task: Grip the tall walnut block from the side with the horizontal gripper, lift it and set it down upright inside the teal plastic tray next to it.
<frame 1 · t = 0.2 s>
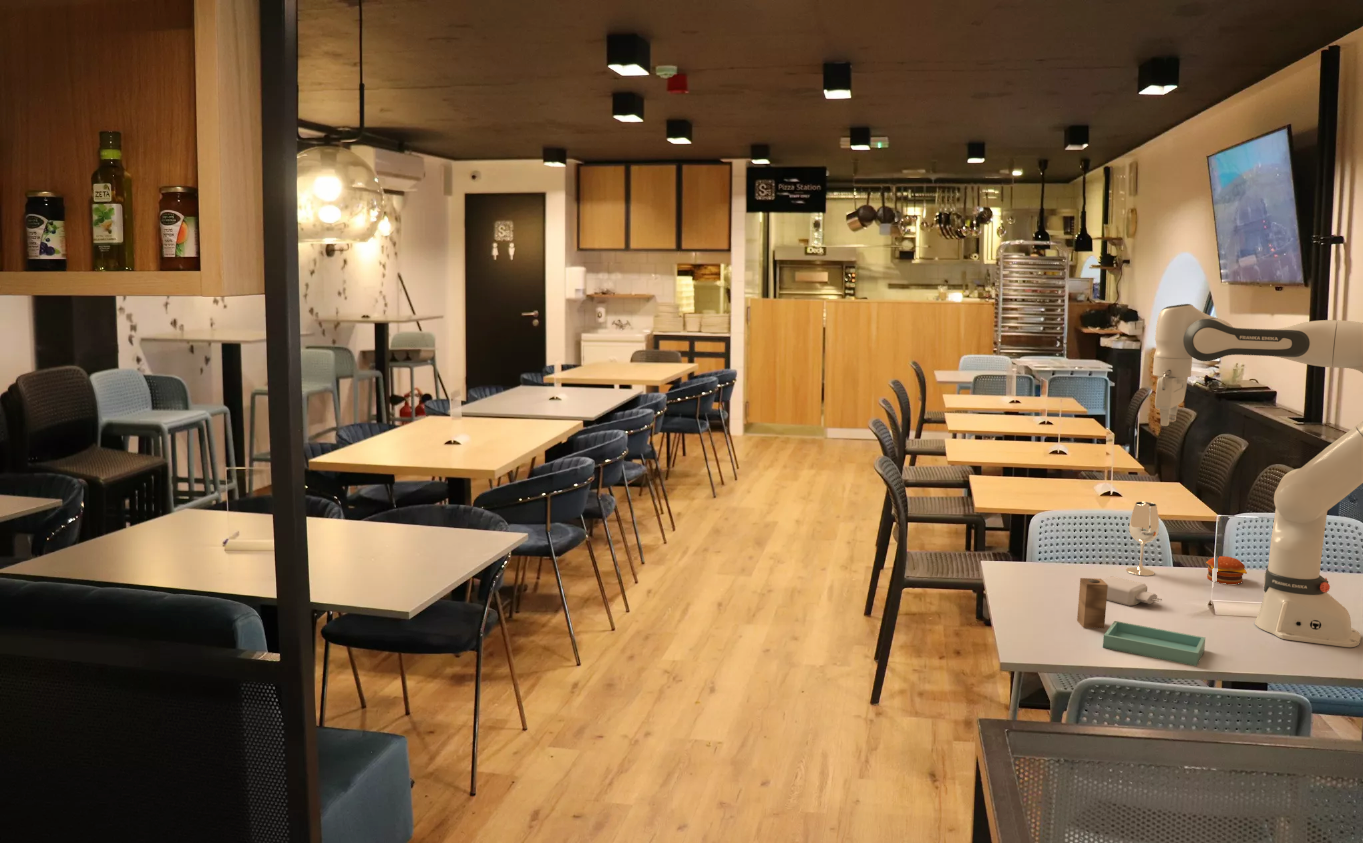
hand: (1168, 423, 282), 48 cm above the table, tool pointing down, fingers open, 8 cm apart
charger: (1131, 603, 293), on the table
wineglass: (1140, 572, 320), on the table
tray: (1153, 648, 259), on the table
block: (1090, 624, 275), on the table
hamburger: (1224, 581, 314), on the table
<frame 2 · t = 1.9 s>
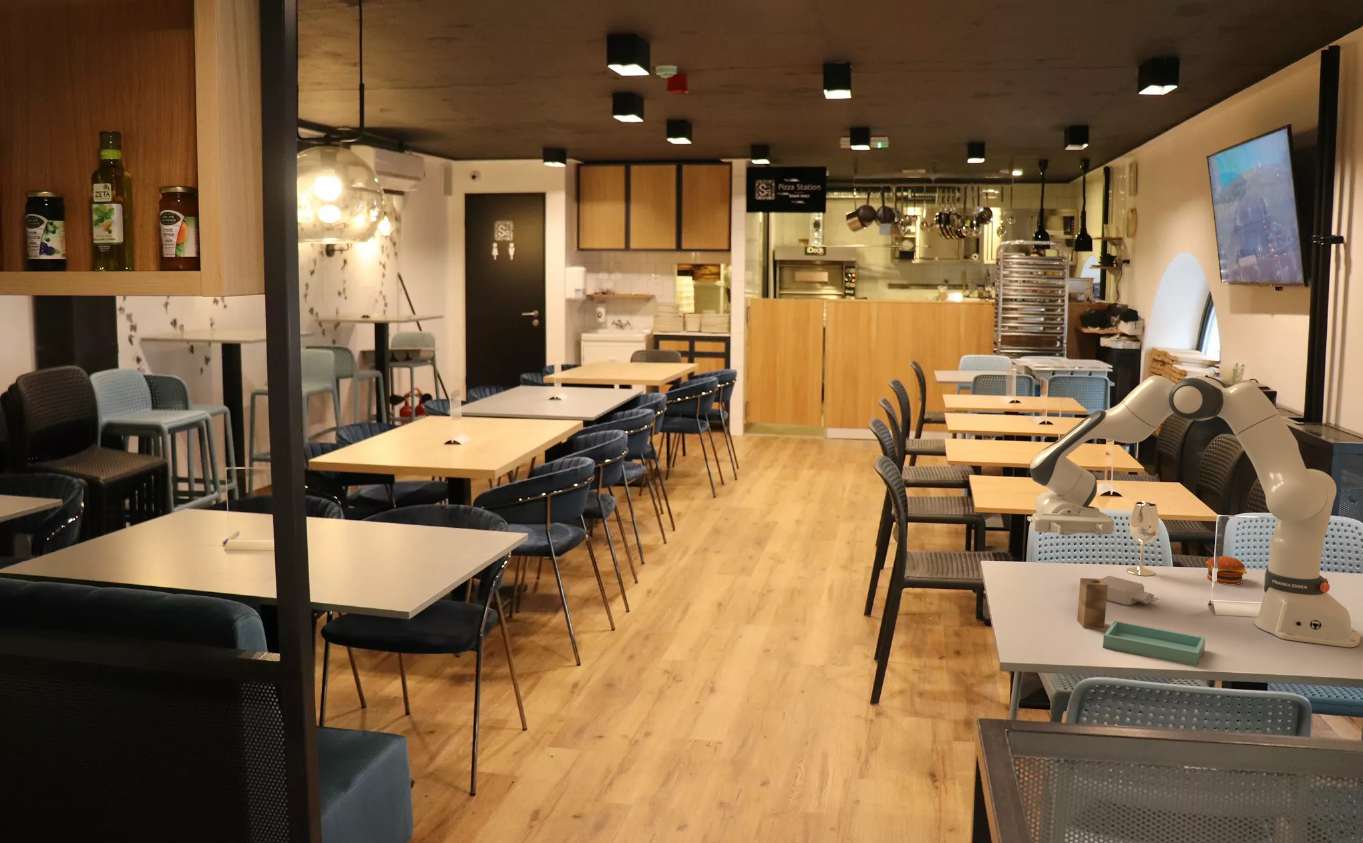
hand: (1081, 531, 284), 20 cm above the table, tool horizontal, fingers open, 8 cm apart
nothing on the table moved.
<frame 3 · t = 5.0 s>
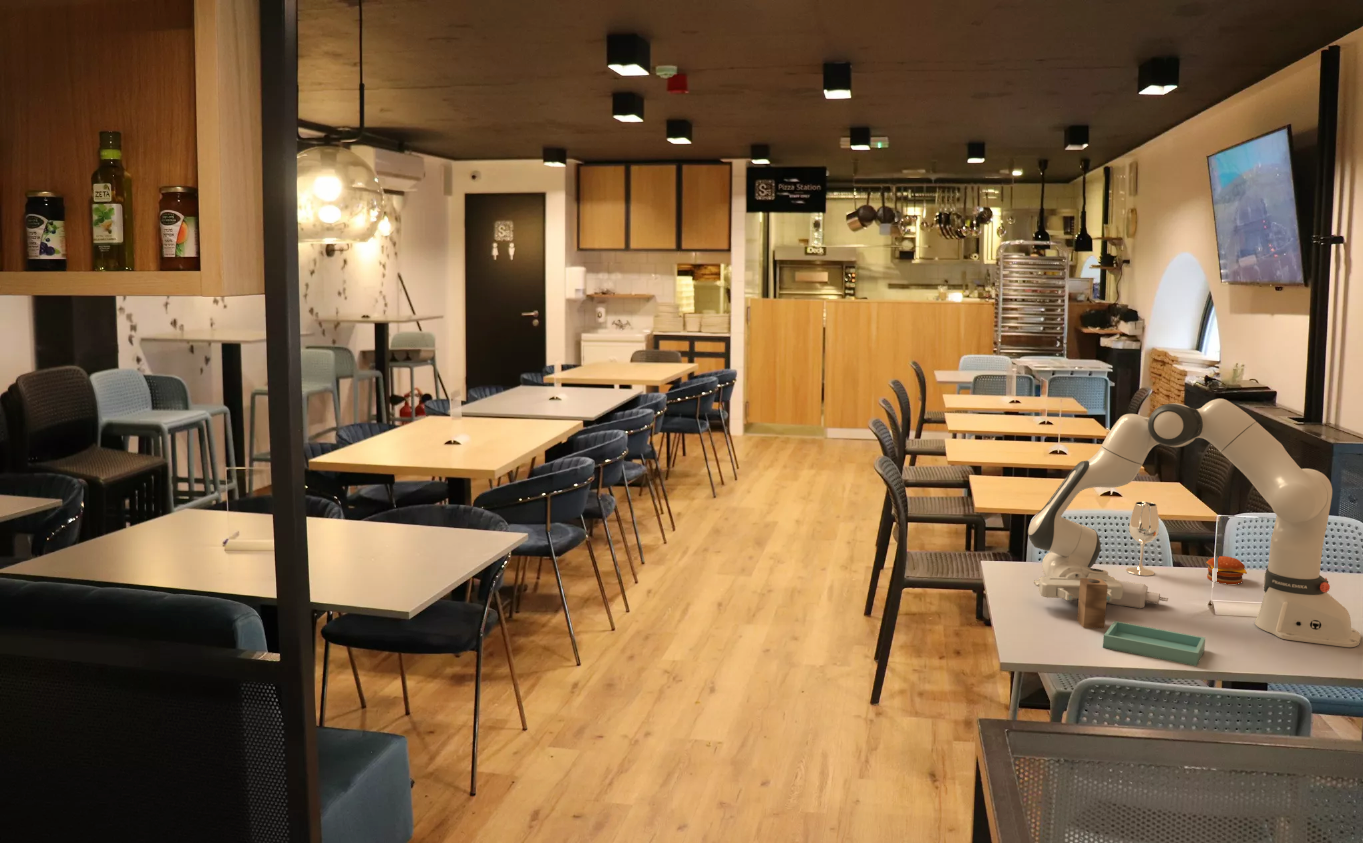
hand: (1089, 598, 276), 6 cm above the table, tool horizontal, fingers open, 8 cm apart
charger: (1135, 604, 292), on the table
everything else where it was.
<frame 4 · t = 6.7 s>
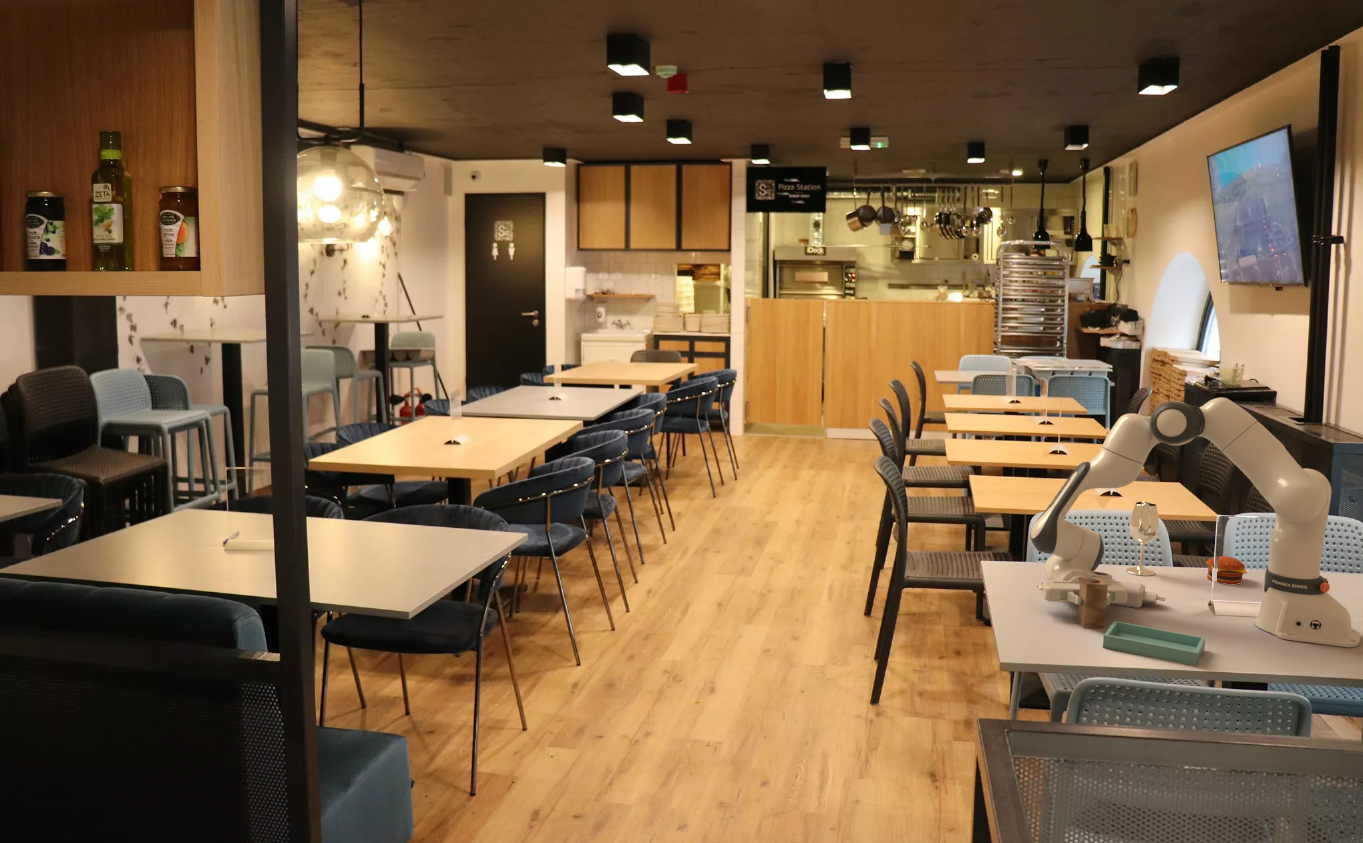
hand: (1093, 602, 273), 6 cm above the table, tool horizontal, fingers closed on block, 5 cm apart
block: (1090, 624, 275), on the table, touching gripper
everything else where it was.
when the fingers open (8 cm above the table, at t = 12.1 s): block drops 2 cm, resting on tray.
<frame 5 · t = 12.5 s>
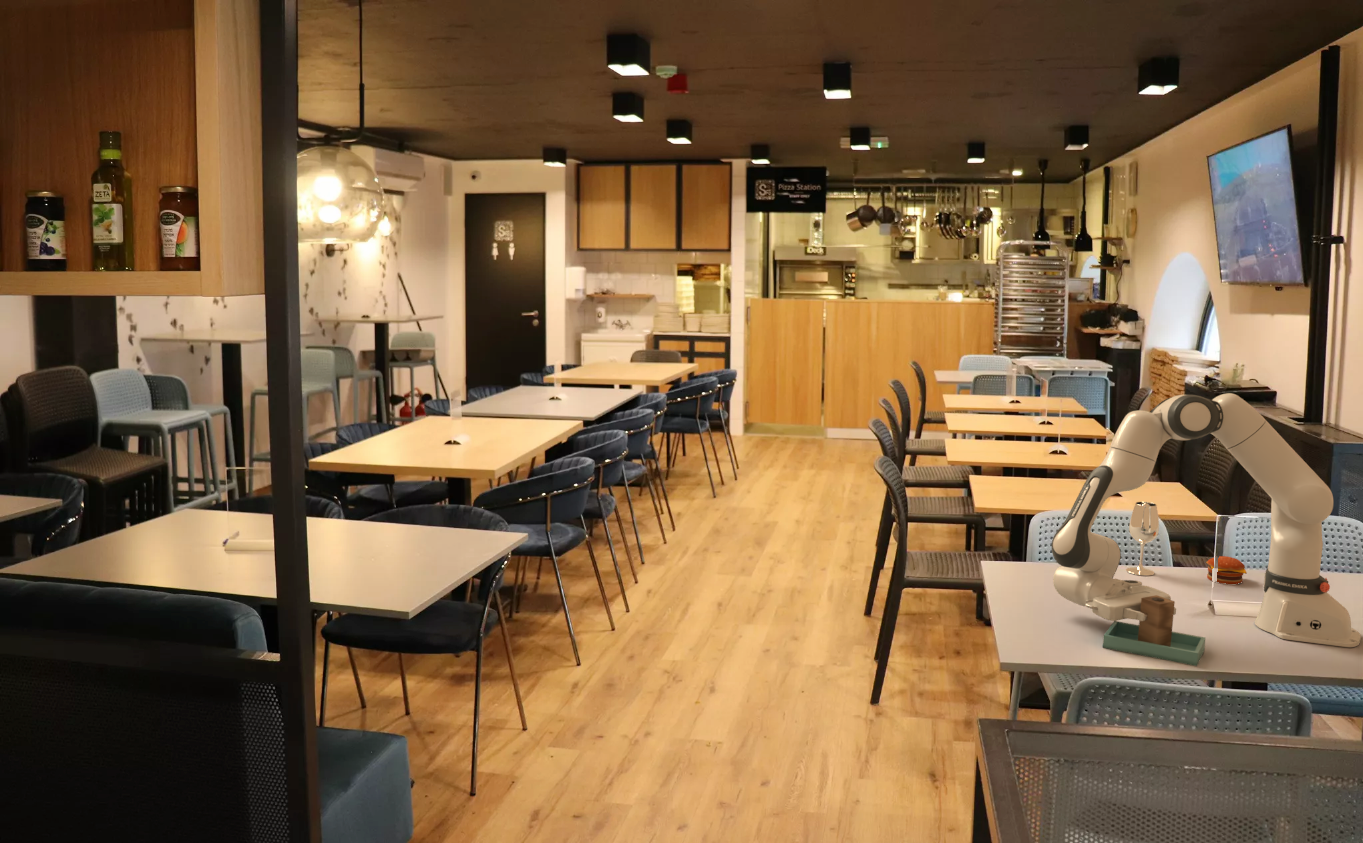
hand: (1159, 614, 257), 8 cm above the table, tool horizontal, fingers open, 8 cm apart
charger: (1124, 603, 293), on the table
block: (1153, 645, 259), point 1 cm above the table, touching tray
everything else where it was.
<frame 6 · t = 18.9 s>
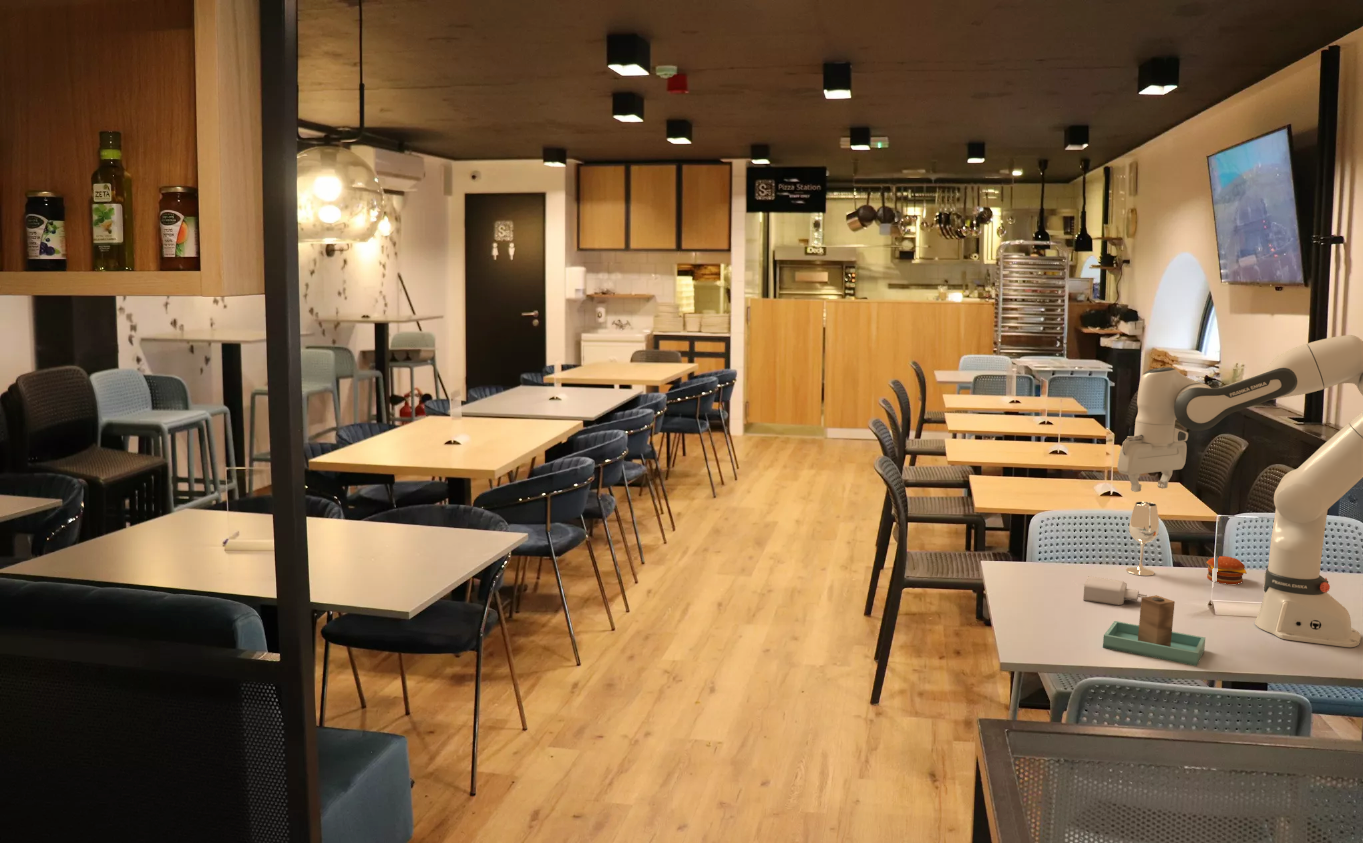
hand: (1149, 489, 274), 33 cm above the table, tool pointing down, fingers open, 8 cm apart
charger: (1115, 601, 294), on the table
everything else where it was.
at the end: block inside the target area on the tray (0.0 cm from its centre), point 0.8 cm above the tray's base; block tilted 0°; the gripper is holding nothing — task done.
